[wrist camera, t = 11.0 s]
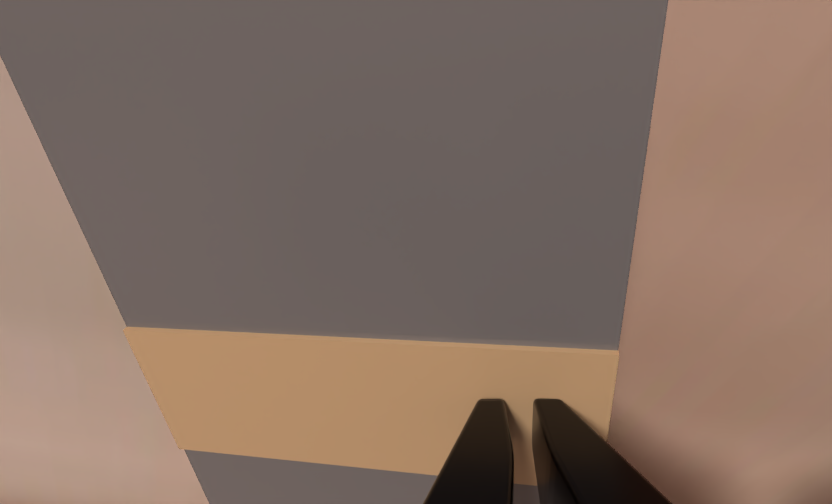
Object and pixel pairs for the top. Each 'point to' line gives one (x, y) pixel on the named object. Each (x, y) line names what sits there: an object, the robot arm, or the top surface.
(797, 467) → the top surface
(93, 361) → the top surface
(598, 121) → the flap lid
